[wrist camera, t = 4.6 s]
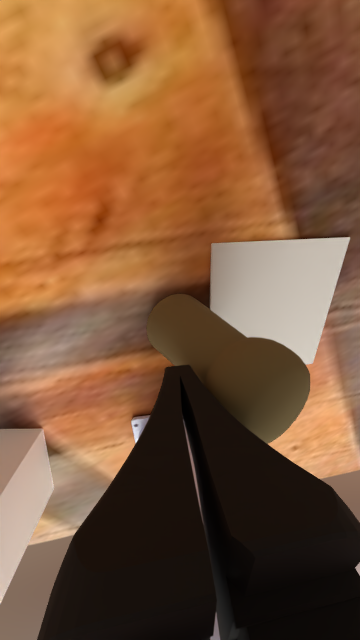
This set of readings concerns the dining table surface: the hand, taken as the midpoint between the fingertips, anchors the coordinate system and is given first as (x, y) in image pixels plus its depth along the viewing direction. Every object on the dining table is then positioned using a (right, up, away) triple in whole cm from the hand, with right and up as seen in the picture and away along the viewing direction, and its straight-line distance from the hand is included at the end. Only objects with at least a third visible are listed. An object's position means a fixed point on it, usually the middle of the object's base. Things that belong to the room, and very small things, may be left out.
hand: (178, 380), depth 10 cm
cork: (0, +3, +7) cm, 8 cm away
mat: (+9, +4, +9) cm, 14 cm away
